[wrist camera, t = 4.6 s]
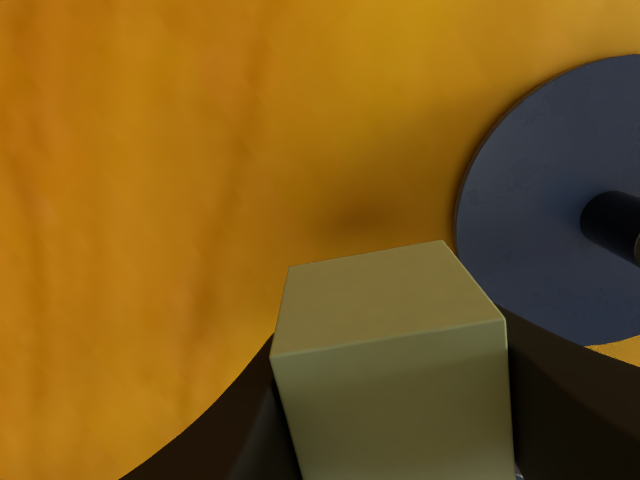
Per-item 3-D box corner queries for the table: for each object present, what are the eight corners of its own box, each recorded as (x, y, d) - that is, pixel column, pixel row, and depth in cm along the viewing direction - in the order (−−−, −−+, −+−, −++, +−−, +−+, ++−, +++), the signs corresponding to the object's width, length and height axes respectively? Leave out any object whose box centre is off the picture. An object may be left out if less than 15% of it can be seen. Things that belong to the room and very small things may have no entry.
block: (443, 238, 12) (507, 317, 8) (456, 370, 13) (518, 498, 9) (288, 265, 12) (267, 356, 8) (318, 391, 13) (314, 524, 9)
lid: (658, -20, 16) (777, -60, 12) (790, 223, 20) (922, 260, 15) (392, 197, 19) (411, 227, 15) (544, 378, 23) (596, 446, 18)
